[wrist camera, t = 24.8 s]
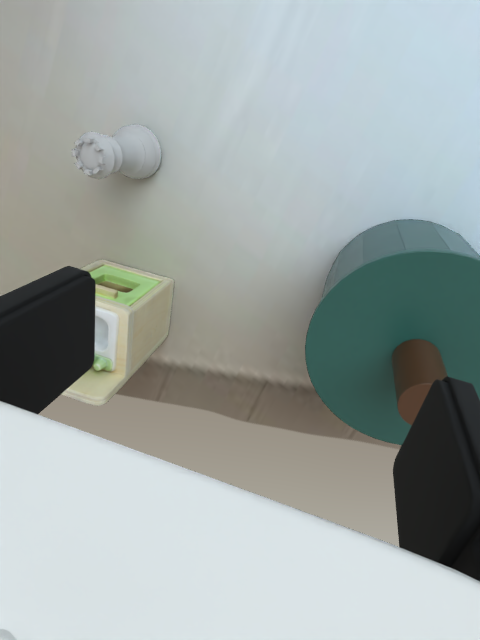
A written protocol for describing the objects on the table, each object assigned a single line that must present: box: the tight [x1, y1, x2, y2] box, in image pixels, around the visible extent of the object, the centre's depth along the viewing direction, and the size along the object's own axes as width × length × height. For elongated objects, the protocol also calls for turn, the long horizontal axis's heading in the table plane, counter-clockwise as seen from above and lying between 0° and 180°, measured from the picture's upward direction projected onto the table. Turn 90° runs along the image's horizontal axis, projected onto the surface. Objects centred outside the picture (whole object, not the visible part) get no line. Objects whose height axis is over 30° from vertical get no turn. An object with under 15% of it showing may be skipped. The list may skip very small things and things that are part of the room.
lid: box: [305, 248, 480, 445], centre depth 23 cm, size 14×14×6 cm
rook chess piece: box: [72, 124, 161, 179], centre depth 33 cm, size 4×4×8 cm
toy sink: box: [61, 260, 174, 406], centre depth 37 cm, size 9×7×13 cm
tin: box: [321, 219, 480, 300], centre depth 30 cm, size 13×13×11 cm
